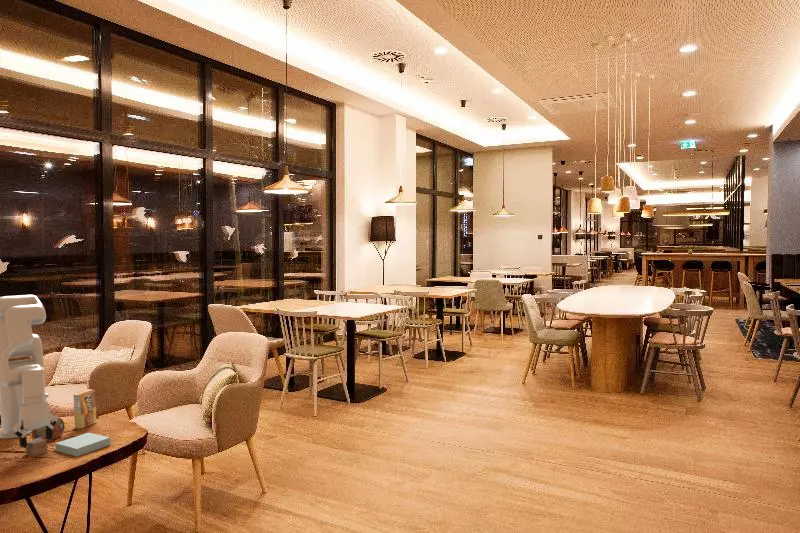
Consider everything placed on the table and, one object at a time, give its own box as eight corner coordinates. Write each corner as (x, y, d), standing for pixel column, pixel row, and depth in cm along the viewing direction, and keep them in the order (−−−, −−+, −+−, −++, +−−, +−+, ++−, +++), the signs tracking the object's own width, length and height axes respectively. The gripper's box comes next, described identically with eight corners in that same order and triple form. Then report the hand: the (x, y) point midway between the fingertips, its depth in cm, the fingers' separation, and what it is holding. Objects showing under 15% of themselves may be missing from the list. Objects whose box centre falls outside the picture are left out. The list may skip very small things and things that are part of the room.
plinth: (55, 450, 230) (55, 443, 230) (89, 439, 242) (88, 432, 242) (77, 456, 223) (76, 448, 223) (110, 444, 236) (110, 437, 235)
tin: (37, 447, 235) (36, 426, 234) (30, 446, 235) (29, 426, 235) (65, 434, 249) (64, 415, 249) (59, 434, 250) (58, 414, 250)
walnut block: (26, 454, 227) (25, 442, 226) (39, 450, 231) (38, 438, 231) (33, 456, 224) (33, 444, 224) (46, 452, 229) (46, 439, 228)
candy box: (89, 422, 266) (87, 389, 265) (97, 422, 265) (95, 389, 264) (74, 428, 257) (72, 394, 256) (82, 429, 256) (80, 394, 255)
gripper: (50, 393, 236) (53, 435, 236) (5, 404, 221) (7, 448, 221) (61, 395, 232) (64, 437, 233) (16, 406, 217) (18, 451, 218)
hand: (36, 442), depth 227 cm, fingers open, 9 cm apart
